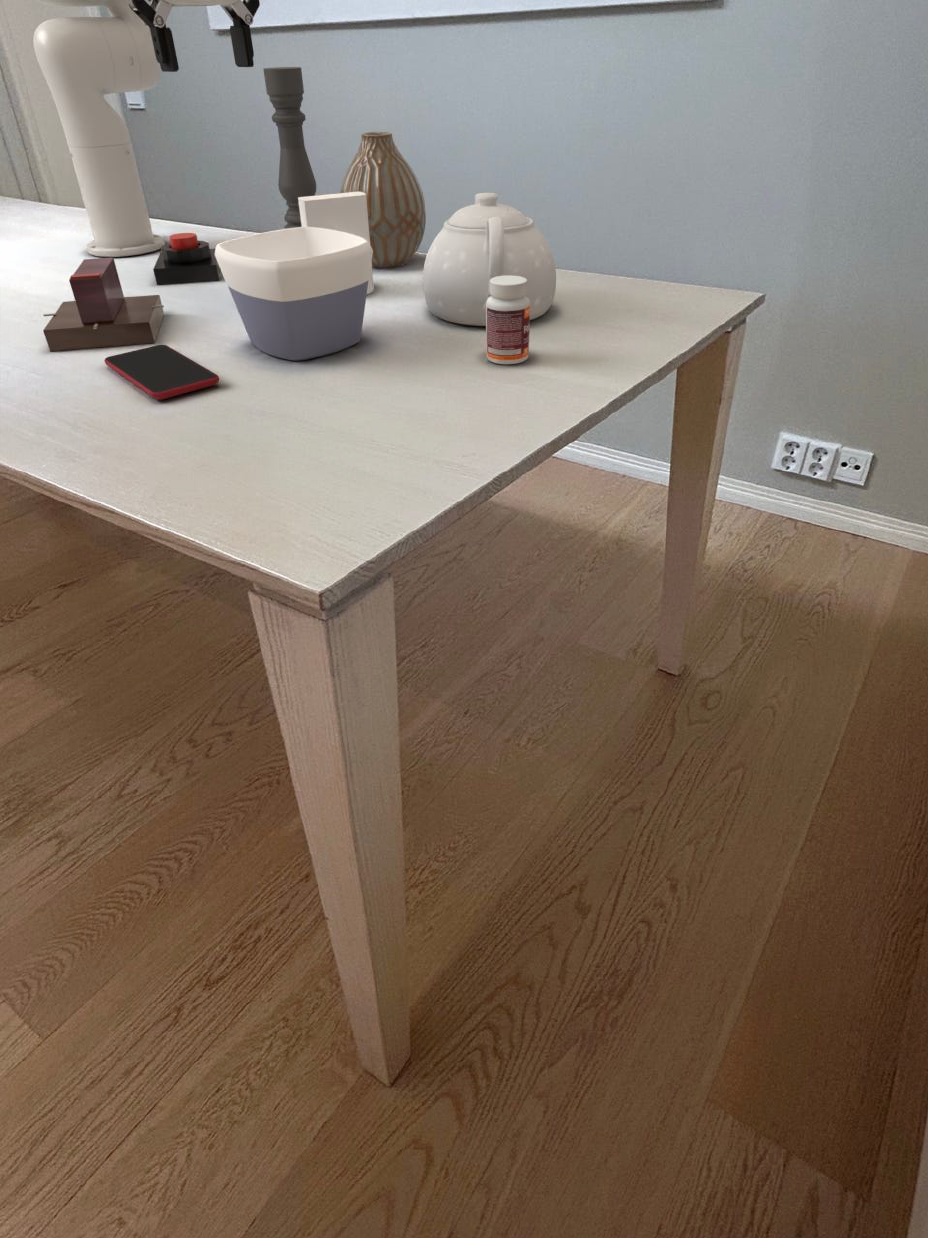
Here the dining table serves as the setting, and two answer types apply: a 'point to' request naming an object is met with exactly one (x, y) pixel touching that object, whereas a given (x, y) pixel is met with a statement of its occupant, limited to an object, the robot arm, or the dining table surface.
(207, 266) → the button block
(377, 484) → the dining table surface
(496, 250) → the teapot
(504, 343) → the pill bottle
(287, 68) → the candle holder
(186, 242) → the button
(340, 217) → the base with upright slab
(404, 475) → the dining table surface
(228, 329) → the dining table surface
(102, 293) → the bar
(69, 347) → the panel
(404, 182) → the vase
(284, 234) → the bowl
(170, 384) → the smartphone
